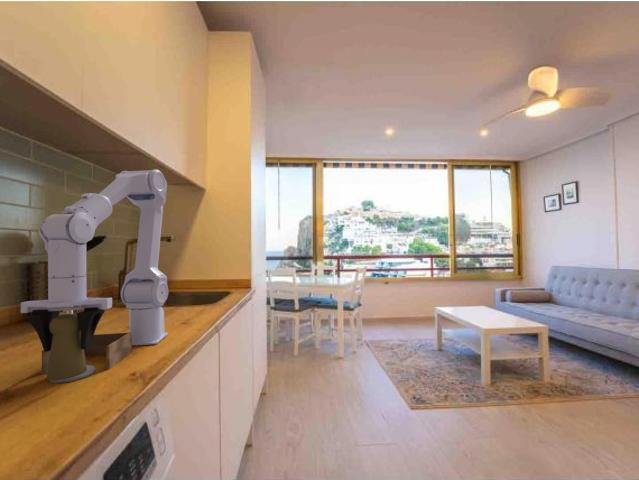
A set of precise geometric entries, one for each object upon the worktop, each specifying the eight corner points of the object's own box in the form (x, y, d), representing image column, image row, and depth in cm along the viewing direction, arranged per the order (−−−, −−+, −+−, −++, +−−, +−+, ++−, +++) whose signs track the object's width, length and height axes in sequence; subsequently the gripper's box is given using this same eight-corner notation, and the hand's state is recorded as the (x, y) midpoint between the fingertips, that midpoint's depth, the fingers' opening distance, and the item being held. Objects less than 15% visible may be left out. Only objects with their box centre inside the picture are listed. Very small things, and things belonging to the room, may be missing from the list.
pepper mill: (80, 365, 64) (80, 310, 65) (92, 371, 61) (92, 313, 61) (41, 375, 59) (41, 316, 60) (52, 382, 56) (52, 320, 56)
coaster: (63, 369, 64) (63, 366, 64) (102, 367, 65) (102, 364, 65) (39, 384, 57) (39, 381, 57) (82, 381, 58) (82, 378, 58)
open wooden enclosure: (74, 355, 72) (74, 335, 72) (131, 351, 74) (131, 332, 74) (41, 374, 62) (41, 350, 62) (109, 369, 64) (109, 346, 64)
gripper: (7, 280, 55) (7, 359, 55) (98, 277, 58) (99, 353, 57) (36, 276, 62) (36, 346, 62) (117, 274, 65) (117, 341, 64)
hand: (68, 348), depth 60 cm, fingers open, 6 cm apart
